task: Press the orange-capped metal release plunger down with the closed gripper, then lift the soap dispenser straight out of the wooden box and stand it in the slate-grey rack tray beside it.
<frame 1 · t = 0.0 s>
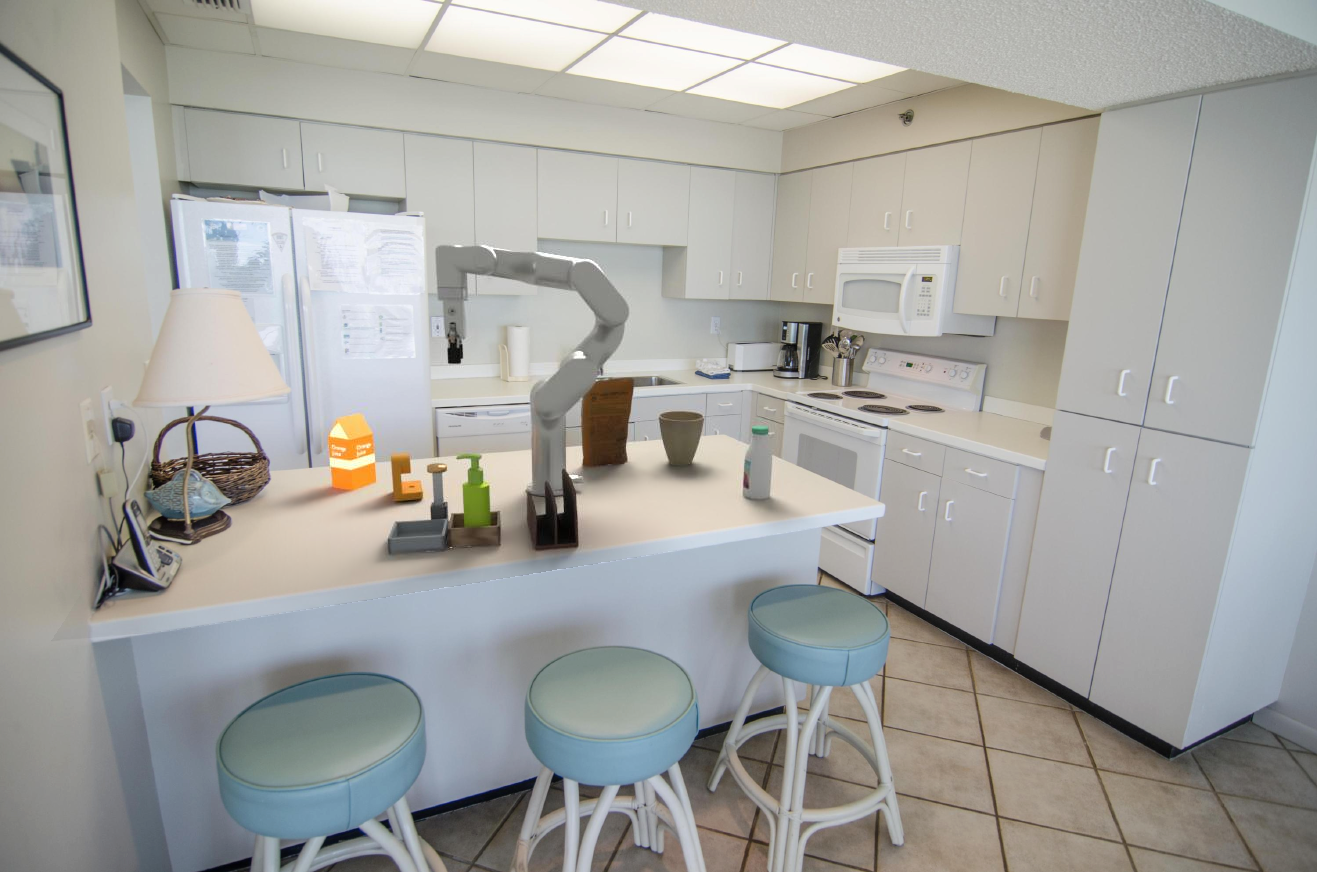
hand: (455, 361, 177), 37 cm above the table, tool pointing down, fingers open, 9 cm apart
orange juice: (354, 485, 192), on the table
soap dispenser: (475, 538, 156), resting in wooden box
milk bottle: (756, 496, 190), on the table
wooden box: (475, 538, 156), on the table
plant pot: (679, 463, 222), on the table
bracket: (408, 497, 183), on the table
plunger collar: (440, 528, 161), on the table
letter holder: (551, 534, 160), on the table
pancake mix bag: (606, 464, 218), on the table
release plunger: (438, 491, 159), point 9 cm above the table, slide at 0.0 cm
rack tray: (419, 543, 152), on the table
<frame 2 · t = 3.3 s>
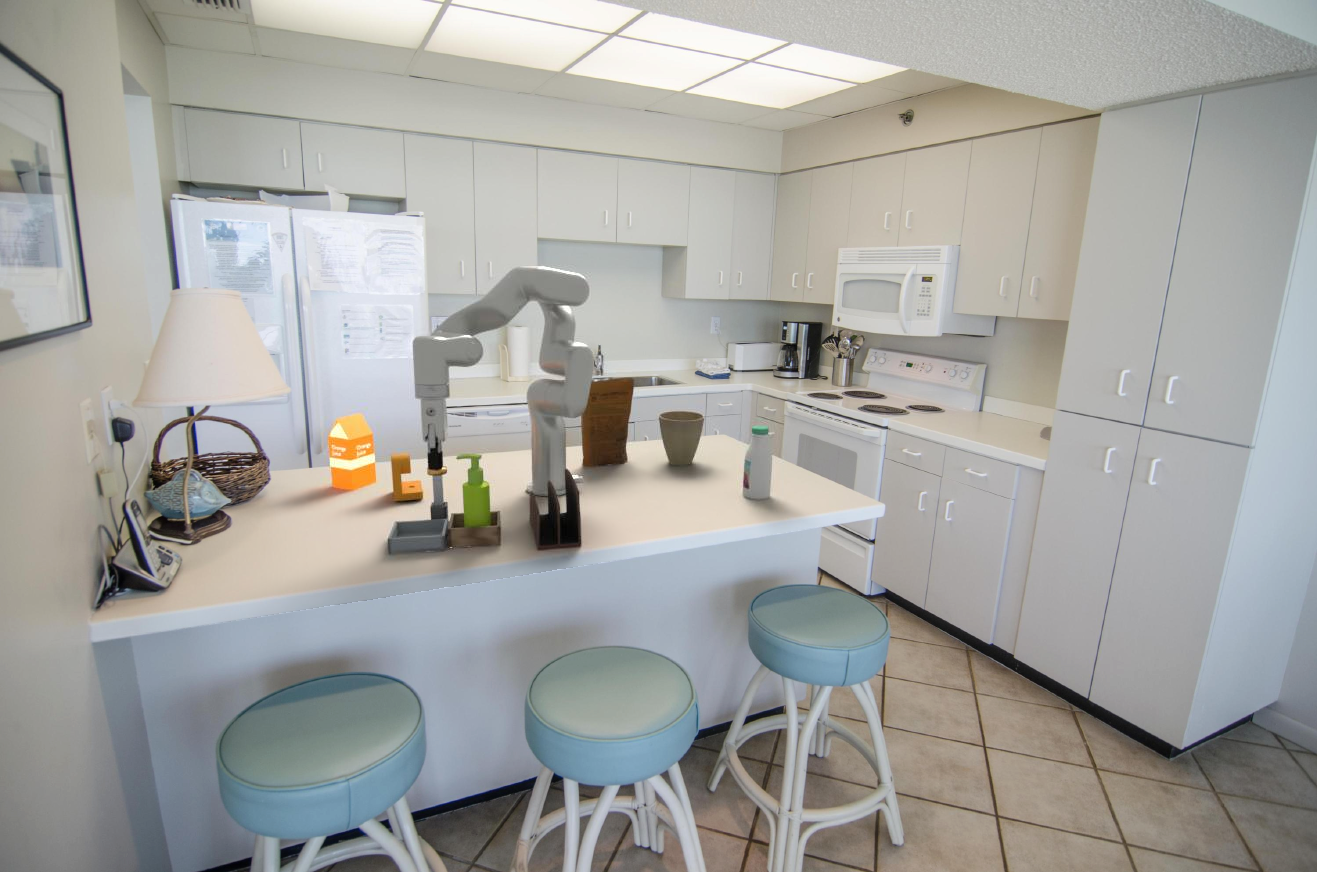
hand: (435, 468, 157), 15 cm above the table, tool pointing down, fingers closed
release plunger: (438, 493, 159), point 9 cm above the table, slide at 0.6 cm, touching gripper
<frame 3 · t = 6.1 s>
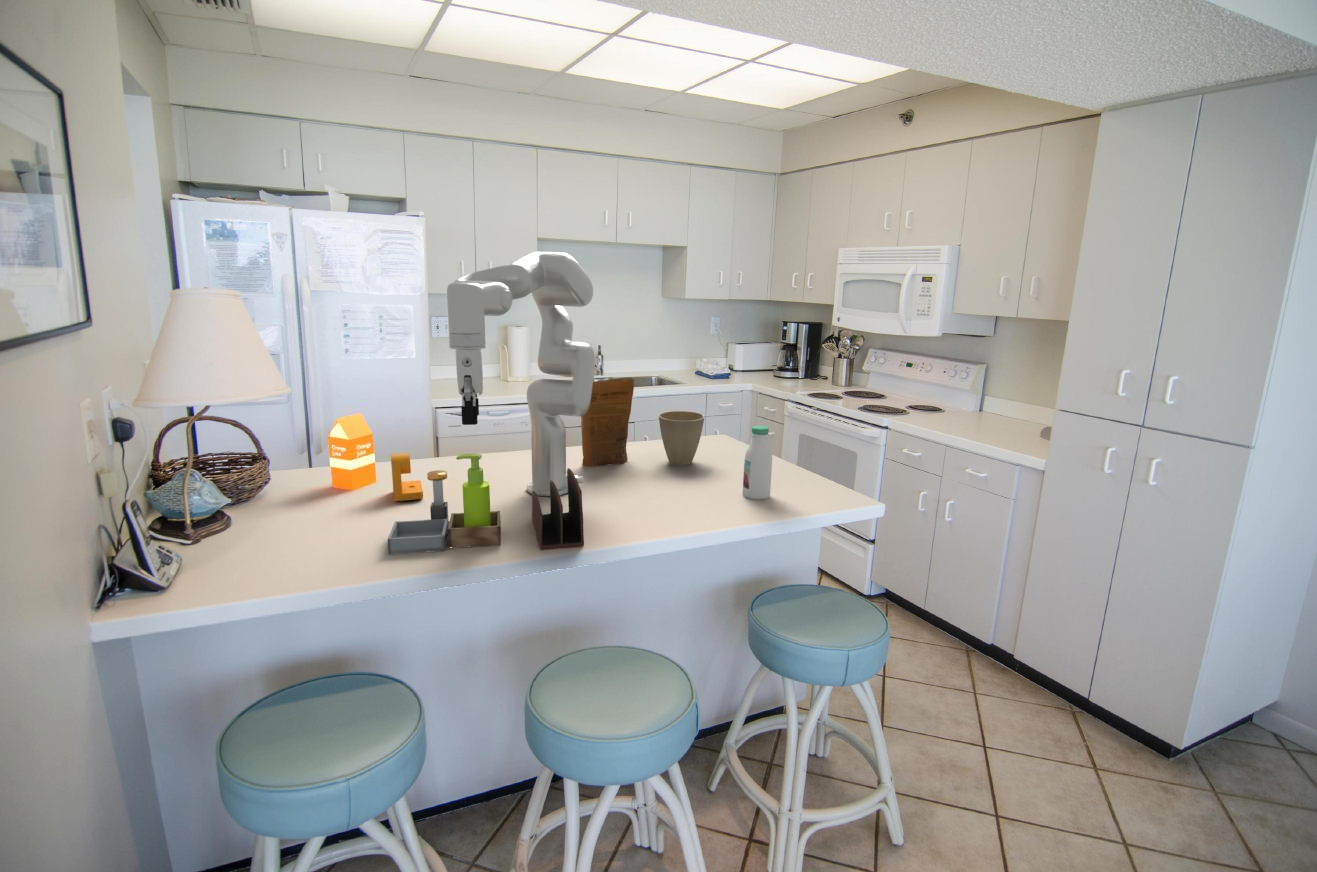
hand: (470, 419, 149), 28 cm above the table, tool pointing down, fingers open, 8 cm apart
release plunger: (438, 498, 159), point 8 cm above the table, slide at 1.8 cm
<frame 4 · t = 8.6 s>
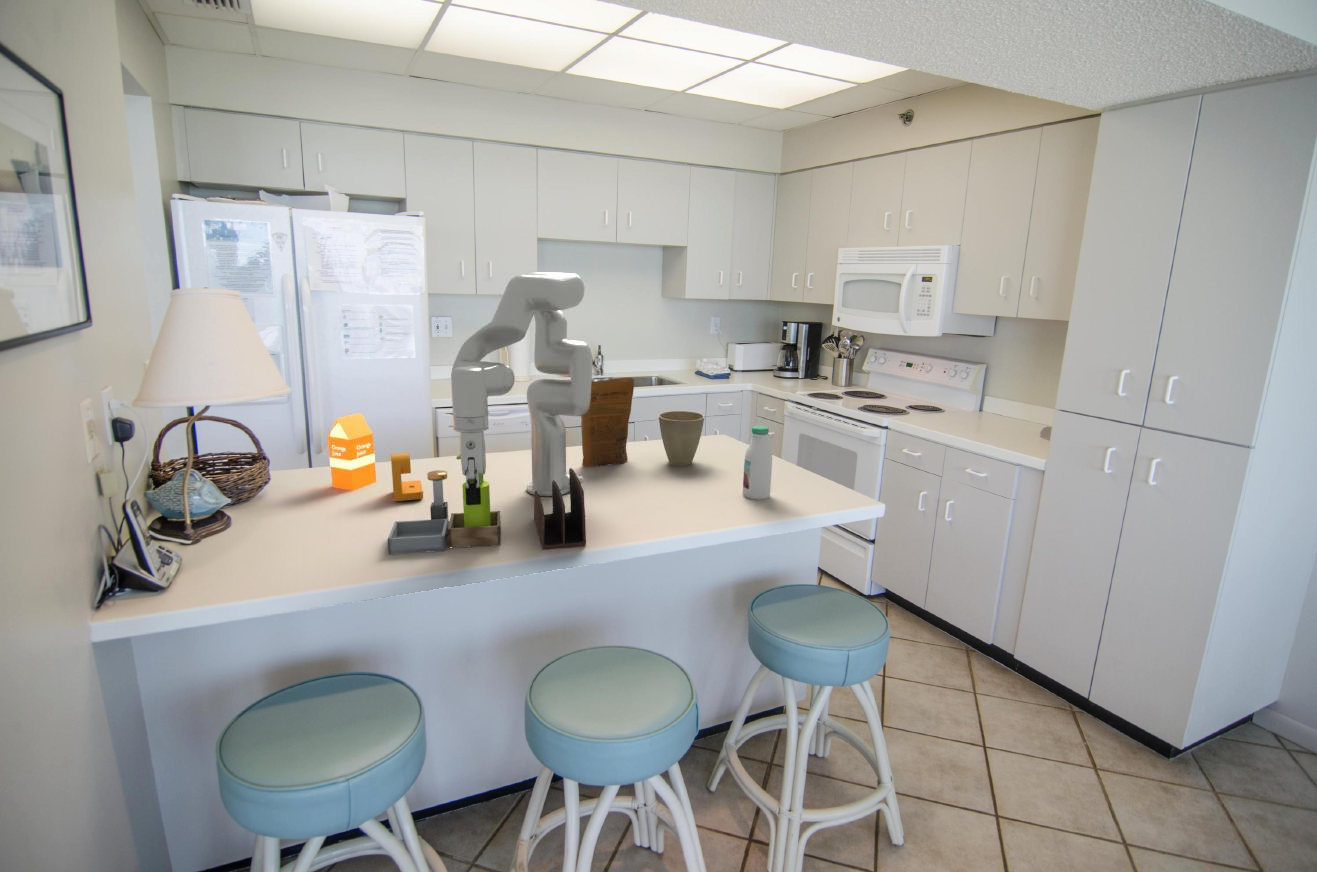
hand: (474, 498, 153), 10 cm above the table, tool pointing down, fingers closed on soap dispenser, 5 cm apart
soap dispenser: (475, 538, 156), resting in wooden box, touching gripper
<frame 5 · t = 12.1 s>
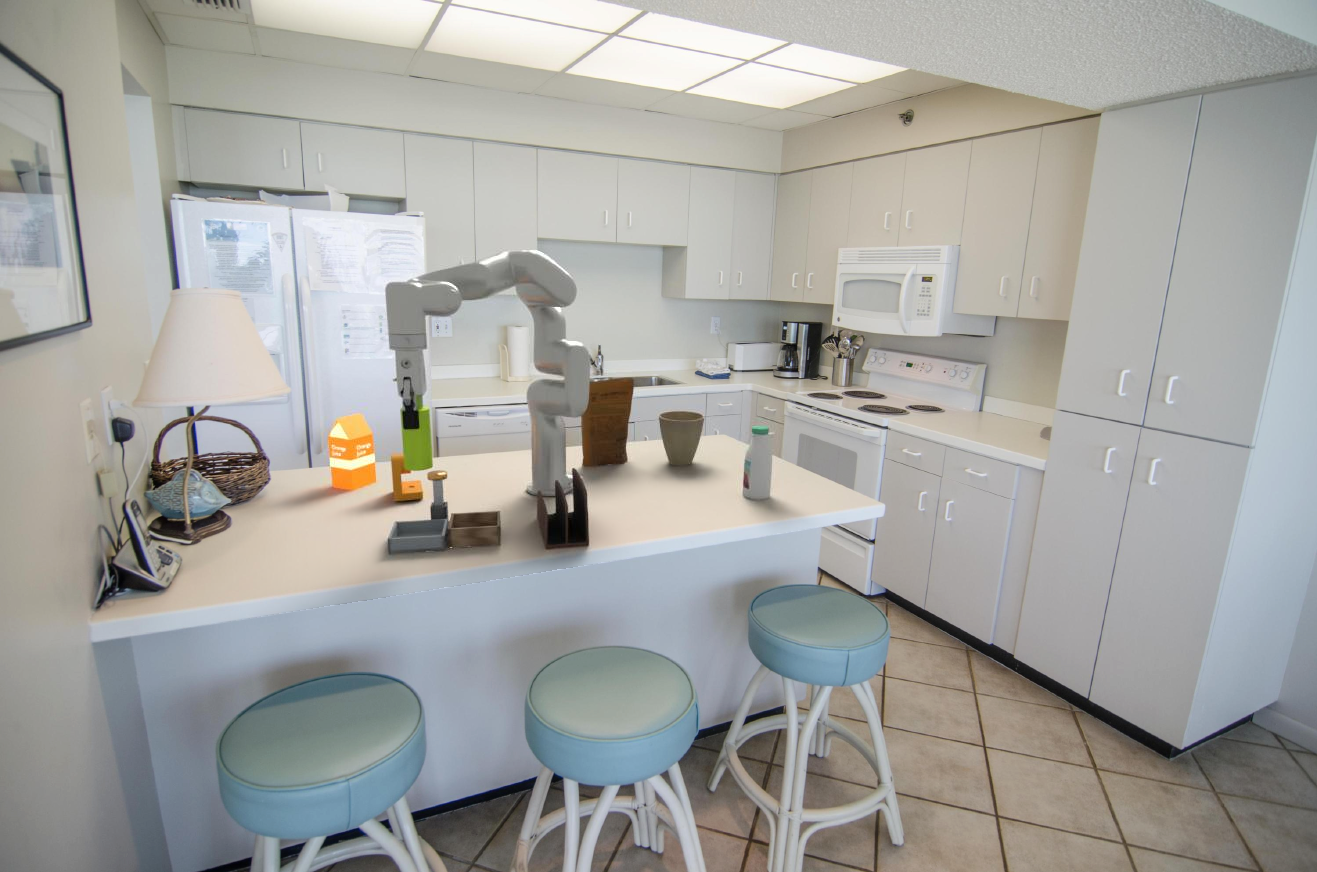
hand: (413, 424, 146), 27 cm above the table, tool pointing down, fingers closed on soap dispenser, 5 cm apart
soap dispenser: (416, 467, 148), point 18 cm above the table, touching gripper
when the fingers open (12 cm above the table, at t = 15.5 s): soap dispenser drops 1 cm, resting on rack tray.
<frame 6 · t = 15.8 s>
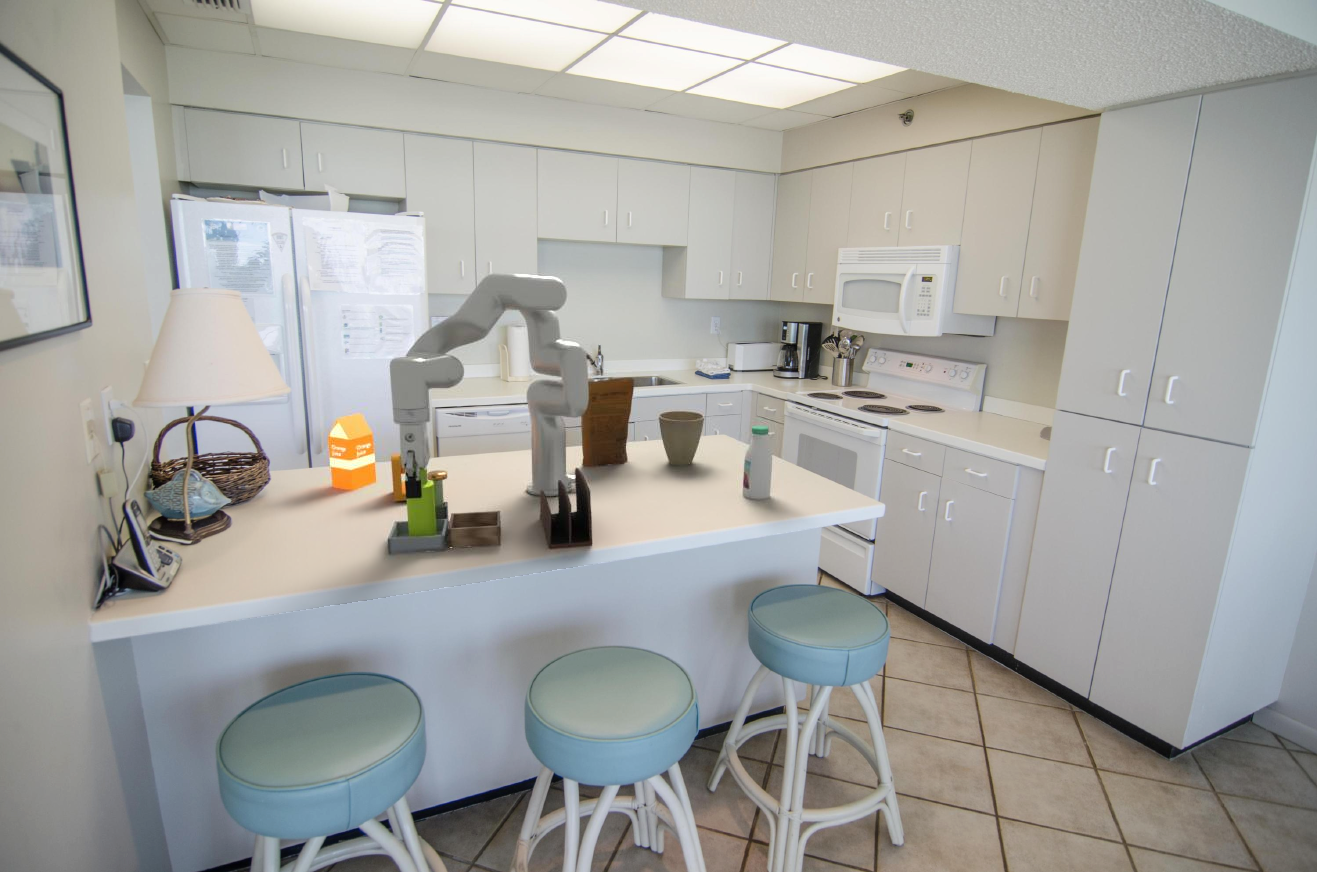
hand: (416, 491, 149), 12 cm above the table, tool pointing down, fingers open, 8 cm apart
soap dispenser: (420, 539, 152), point 1 cm above the table, touching rack tray
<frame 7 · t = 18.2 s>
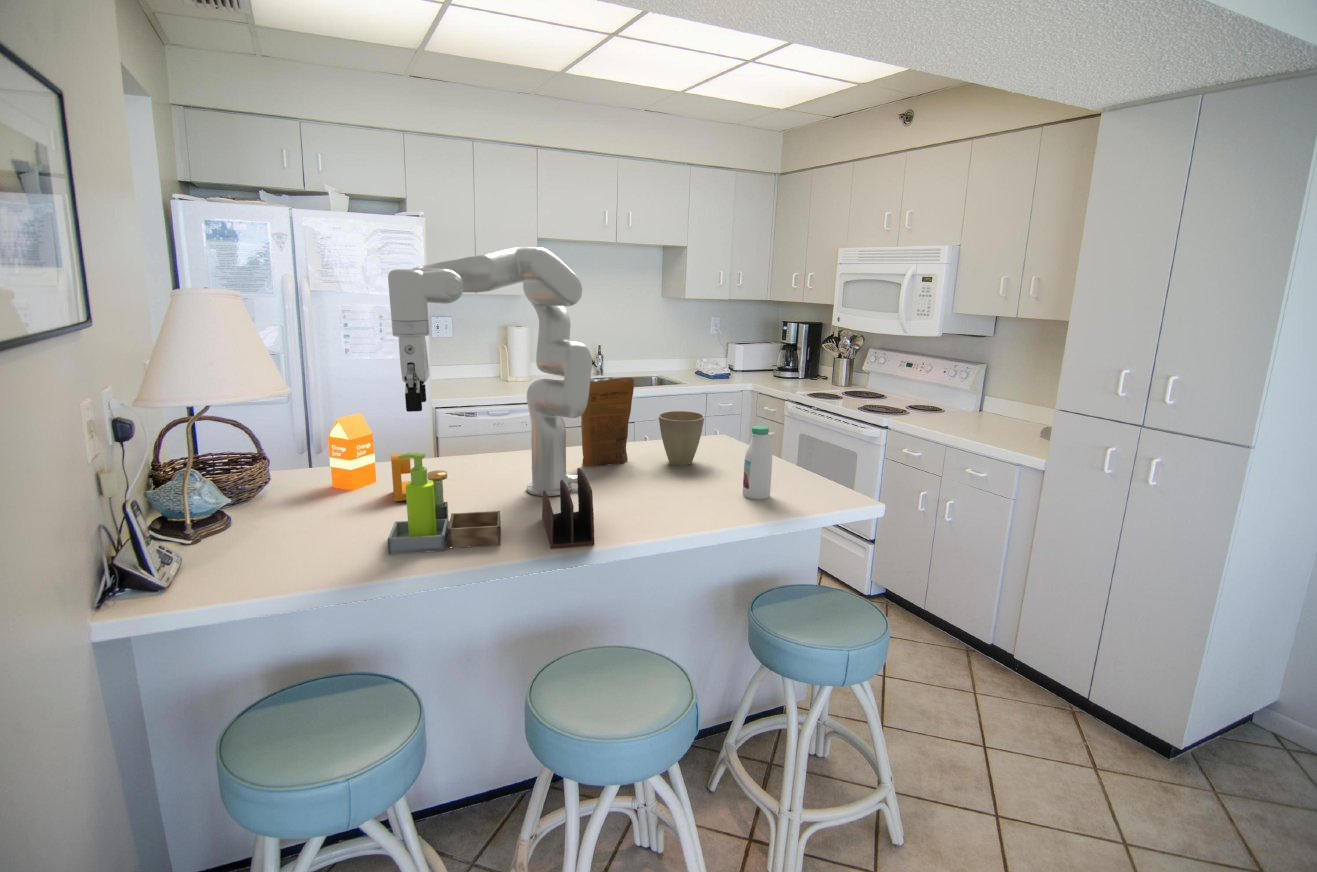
hand: (416, 406, 149), 31 cm above the table, tool pointing down, fingers open, 9 cm apart
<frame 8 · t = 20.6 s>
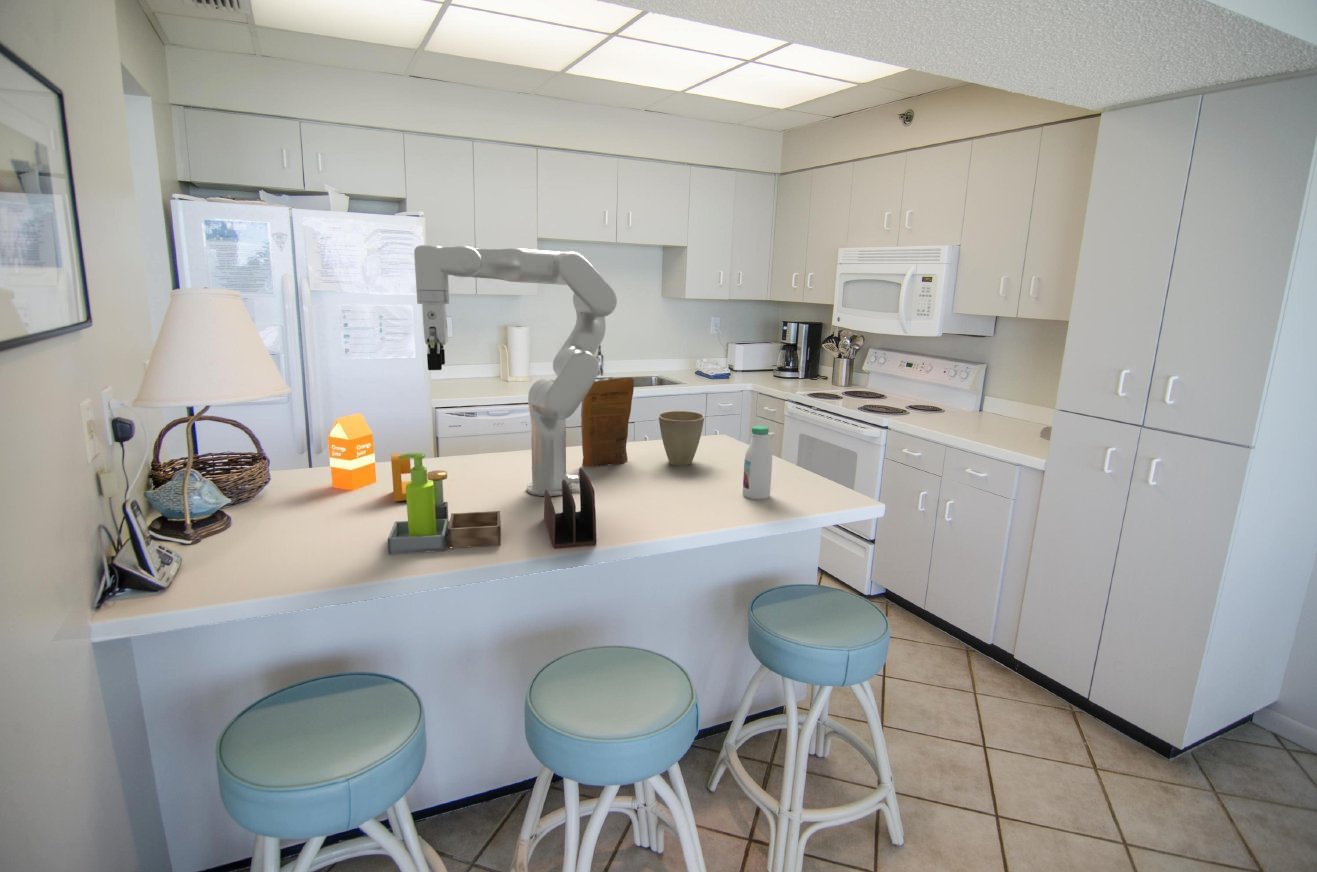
hand: (436, 367, 169), 36 cm above the table, tool pointing down, fingers open, 9 cm apart
at the end: release plunger slide at 1.8 cm; soap dispenser 0.4 cm off-centre on the rack tray, point 0.6 cm above the rack tray's base; soap dispenser tilted 0° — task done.
